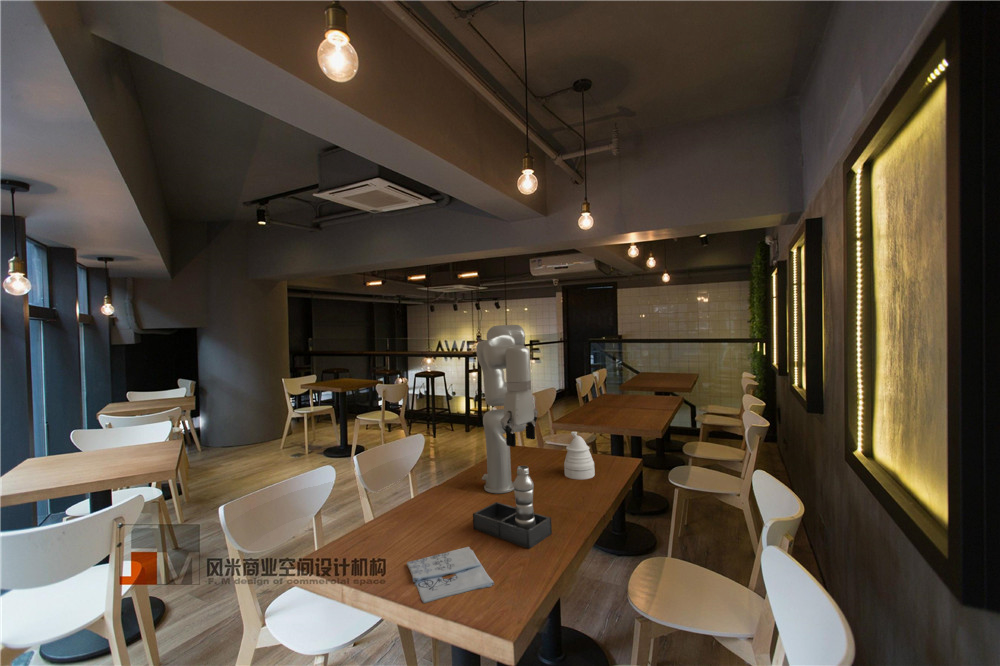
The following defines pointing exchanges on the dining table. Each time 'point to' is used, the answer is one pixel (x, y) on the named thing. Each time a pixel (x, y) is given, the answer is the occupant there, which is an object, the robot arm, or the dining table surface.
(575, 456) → the honey pot
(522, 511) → the grey stacked bottle
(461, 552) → the folded bicycle print cloth
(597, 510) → the dining table surface
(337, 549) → the dining table surface
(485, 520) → the divided tray
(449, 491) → the dining table surface
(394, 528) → the dining table surface
